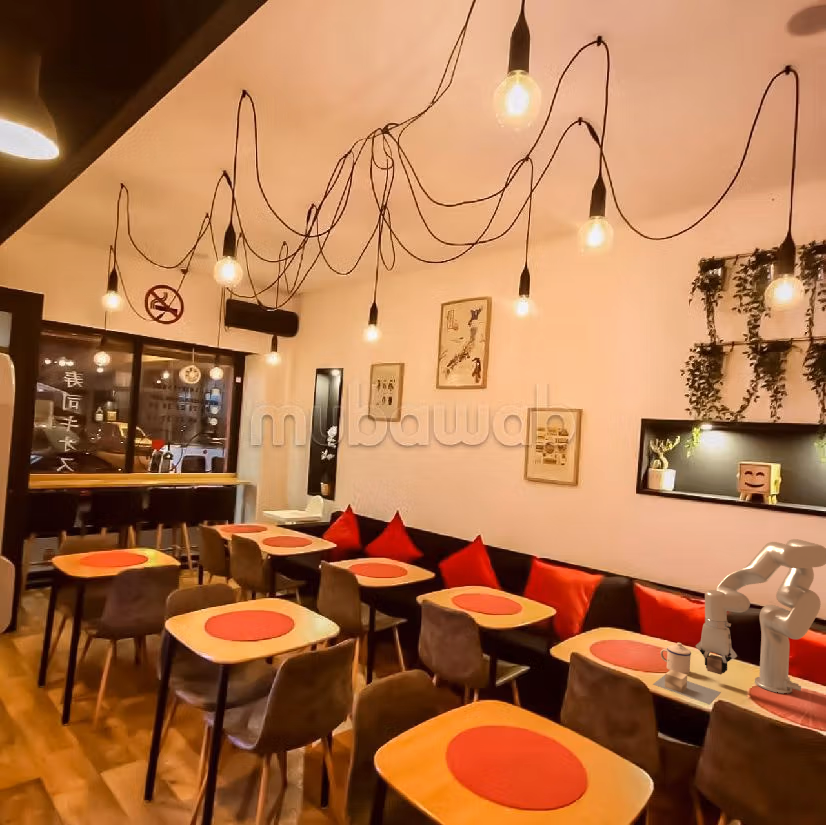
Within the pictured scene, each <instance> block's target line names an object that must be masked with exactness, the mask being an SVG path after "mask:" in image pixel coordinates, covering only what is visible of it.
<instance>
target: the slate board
mask: <svg viewBox="0 0 826 825" xmlns="http://www.w3.org/2000/svg"><path fill="white" fill-rule="evenodd" d="M652 686H657V687H660V688H662V689H664V690H667V691H670V692H673V693H676V694H679V695H682V696H684V697H686V698H690V699H693V700H696V701H699V702H702V703H704V704H707V705H710V704H711V703H713V701H714V700H716V698H717V697H718V696H719V695H720V694H721V693H722V691H719V690H715V689H713V688H711V687H706V686H703V685H701V684H698V683H695V682H691V681H689V680H687V688H686V689H685V690H684V691H683V692H682V693H681V692H678V691H675V690H672V689H669V688H666V687H665V674H664V675H663V676H662V677H660V678H659V679H658V680H657V681H655V682H654V683H653V684H652Z"/></svg>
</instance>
